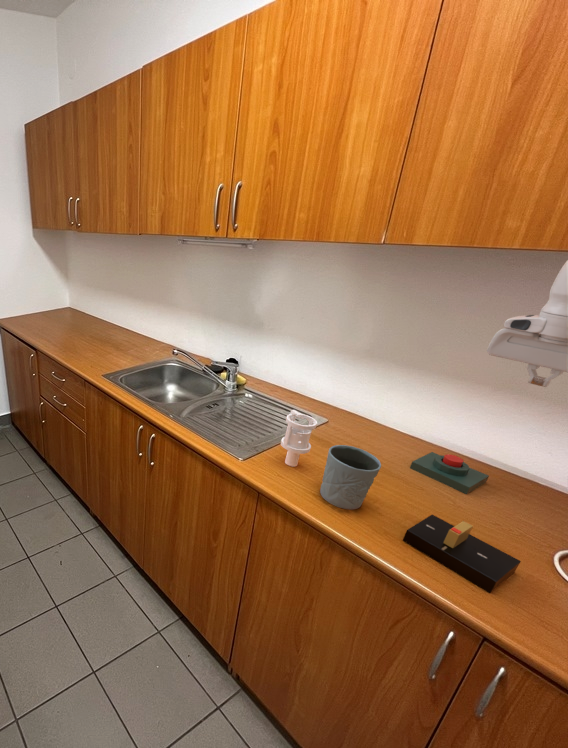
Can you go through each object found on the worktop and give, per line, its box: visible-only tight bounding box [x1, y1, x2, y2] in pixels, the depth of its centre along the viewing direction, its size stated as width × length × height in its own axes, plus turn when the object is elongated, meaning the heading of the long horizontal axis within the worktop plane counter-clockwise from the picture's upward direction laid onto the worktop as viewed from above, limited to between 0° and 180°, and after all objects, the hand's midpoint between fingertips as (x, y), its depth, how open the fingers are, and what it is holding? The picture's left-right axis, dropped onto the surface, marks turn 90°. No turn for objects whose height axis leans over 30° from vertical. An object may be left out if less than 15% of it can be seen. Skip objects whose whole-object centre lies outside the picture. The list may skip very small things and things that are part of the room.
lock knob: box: [443, 520, 474, 548], centre depth 79 cm, size 6×2×4 cm, turn 116°
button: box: [442, 453, 464, 468], centre depth 102 cm, size 4×4×2 cm
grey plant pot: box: [319, 444, 382, 510], centre depth 94 cm, size 10×10×12 cm
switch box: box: [409, 451, 490, 495], centre depth 103 cm, size 12×10×4 cm
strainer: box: [280, 409, 318, 468], centre depth 106 cm, size 7×7×15 cm
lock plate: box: [402, 514, 522, 594], centre depth 79 cm, size 14×10×3 cm
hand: (537, 384), depth 91 cm, fingers closed
